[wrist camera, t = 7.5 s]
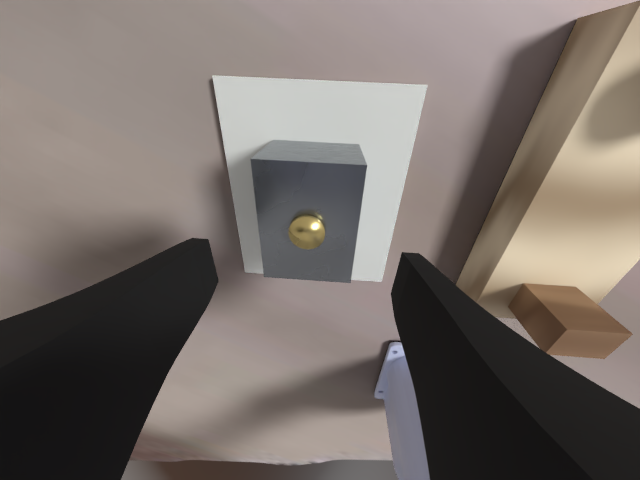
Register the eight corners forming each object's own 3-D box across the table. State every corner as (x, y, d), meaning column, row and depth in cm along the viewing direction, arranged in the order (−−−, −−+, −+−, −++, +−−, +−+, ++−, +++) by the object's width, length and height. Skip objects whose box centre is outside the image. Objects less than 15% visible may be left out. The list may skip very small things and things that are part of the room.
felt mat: (380, 278, 18) (381, 281, 17) (246, 269, 18) (245, 272, 18) (424, 84, 11) (427, 84, 11) (215, 75, 12) (212, 75, 11)
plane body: (550, 295, 18) (630, 372, 13) (453, 288, 18) (496, 362, 13) (758, 24, 10) (1176, -37, 5) (577, 18, 10) (807, -48, 5)
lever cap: (347, 240, 16) (350, 288, 12) (279, 236, 16) (261, 282, 12) (359, 144, 13) (368, 168, 9) (273, 139, 13) (247, 161, 9)
